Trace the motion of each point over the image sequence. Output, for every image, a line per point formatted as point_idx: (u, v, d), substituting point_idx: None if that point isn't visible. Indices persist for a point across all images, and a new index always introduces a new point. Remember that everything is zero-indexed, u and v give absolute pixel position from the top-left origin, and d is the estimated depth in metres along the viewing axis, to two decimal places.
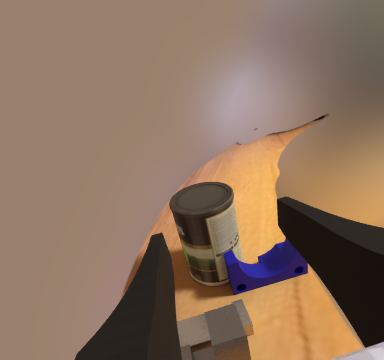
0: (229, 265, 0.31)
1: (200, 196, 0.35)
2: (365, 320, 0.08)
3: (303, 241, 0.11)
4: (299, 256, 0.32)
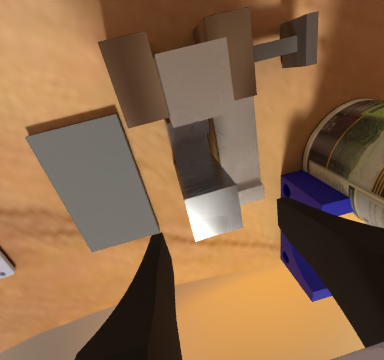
0: (320, 206, 0.17)
1: None
2: (365, 320, 0.08)
3: (303, 241, 0.11)
4: (299, 275, 0.24)
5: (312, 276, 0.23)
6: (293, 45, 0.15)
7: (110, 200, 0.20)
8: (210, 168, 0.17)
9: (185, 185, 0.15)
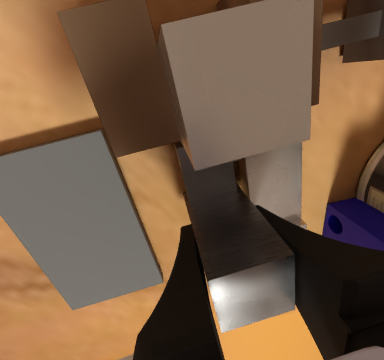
0: None
1: None
2: (322, 334, 0.08)
3: None
4: None
5: None
6: (374, 27, 0.10)
7: (95, 246, 0.14)
8: (240, 211, 0.11)
9: (205, 244, 0.10)
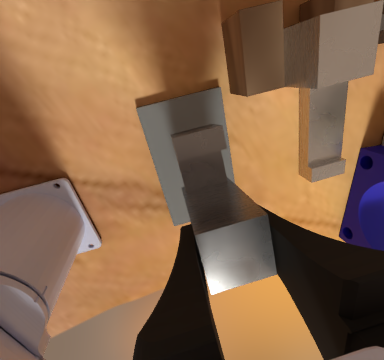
0: None
1: None
2: (322, 334, 0.08)
3: None
4: None
5: (382, 249, 0.24)
6: None
7: None
8: (228, 193, 0.13)
9: (196, 215, 0.12)
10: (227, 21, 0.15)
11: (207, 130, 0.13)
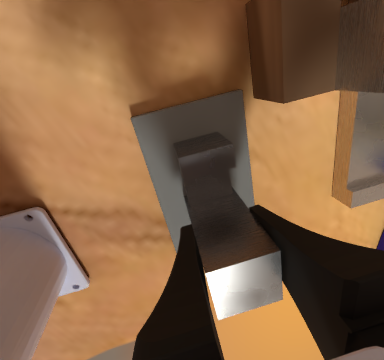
0: None
1: None
2: (323, 334, 0.08)
3: None
4: None
5: None
6: None
7: None
8: (235, 213, 0.13)
9: (204, 242, 0.11)
10: None
11: (216, 149, 0.11)
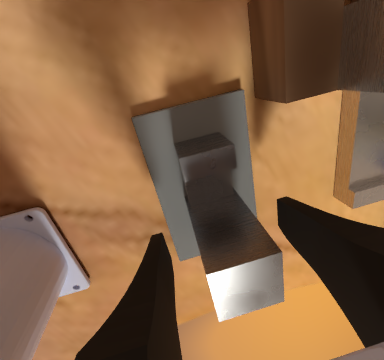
0: None
1: None
2: (365, 320, 0.08)
3: (303, 241, 0.11)
4: None
5: None
6: None
7: None
8: (236, 214, 0.13)
9: (205, 244, 0.11)
10: None
11: (217, 149, 0.11)
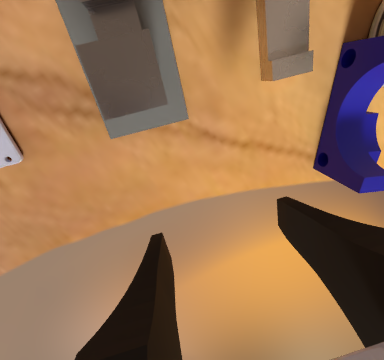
0: None
1: None
2: (365, 320, 0.08)
3: (303, 241, 0.11)
4: (342, 170, 0.21)
5: (360, 168, 0.20)
6: None
7: None
8: None
9: None
10: None
11: None
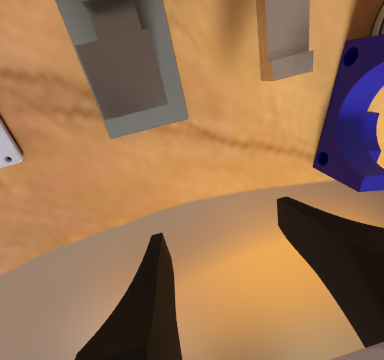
0: None
1: None
2: (365, 320, 0.08)
3: (303, 241, 0.11)
4: (342, 169, 0.21)
5: (360, 167, 0.20)
6: None
7: None
8: None
9: None
10: None
11: None
